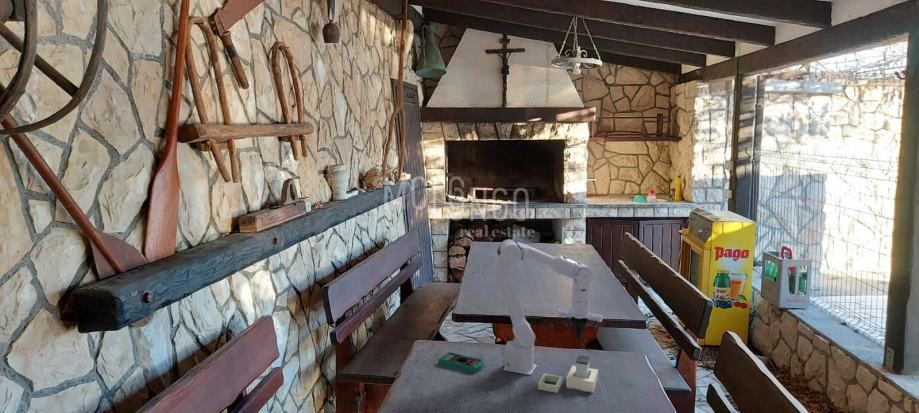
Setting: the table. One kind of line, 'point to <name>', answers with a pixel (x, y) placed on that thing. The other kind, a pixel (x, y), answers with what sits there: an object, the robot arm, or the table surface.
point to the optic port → (582, 380)
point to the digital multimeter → (461, 362)
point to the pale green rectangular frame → (549, 387)
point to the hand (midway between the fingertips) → (578, 339)
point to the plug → (582, 366)
